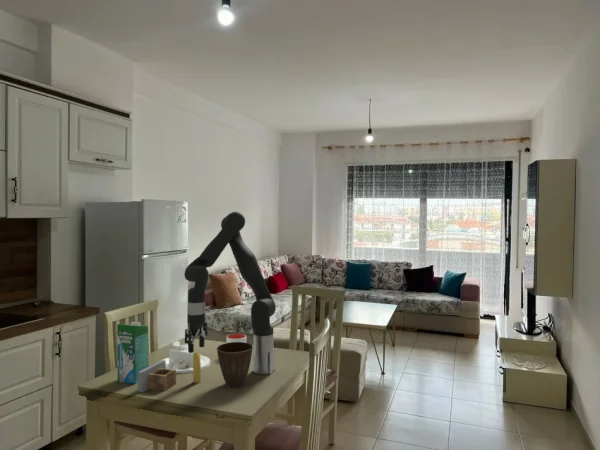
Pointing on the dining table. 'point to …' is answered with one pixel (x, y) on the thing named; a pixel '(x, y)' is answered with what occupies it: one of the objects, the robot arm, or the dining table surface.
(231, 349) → the plant pot
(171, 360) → the dish
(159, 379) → the brown wooden open box
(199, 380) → the dowel
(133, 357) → the milk carton
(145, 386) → the wall
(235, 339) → the cup
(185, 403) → the dining table surface
